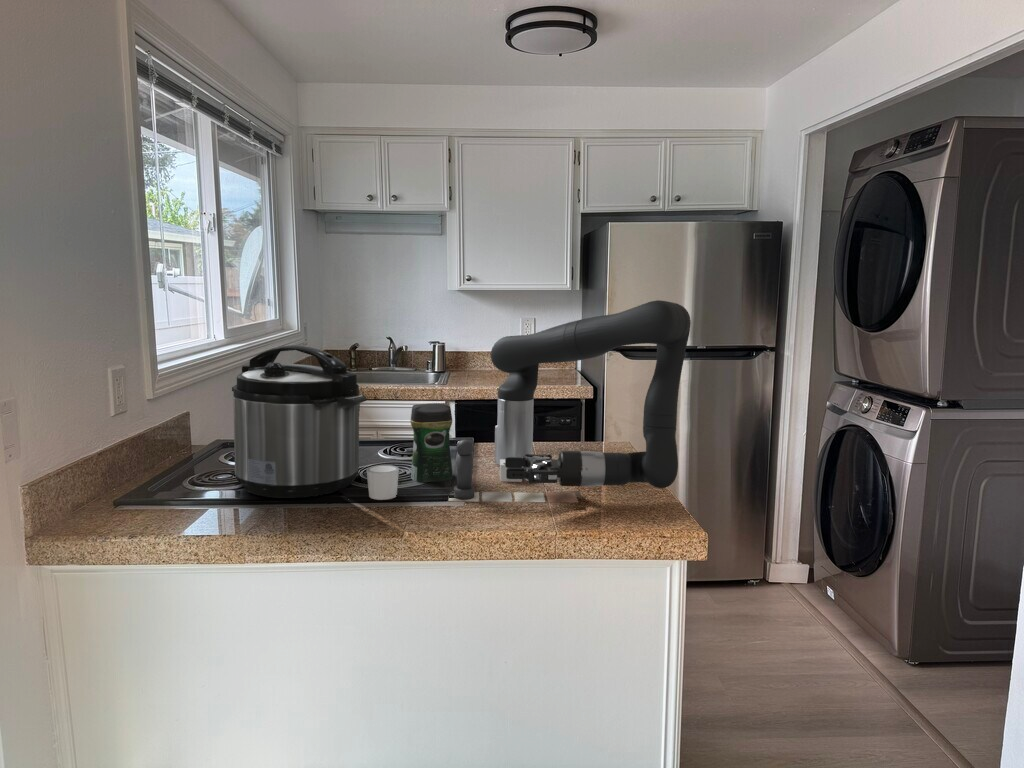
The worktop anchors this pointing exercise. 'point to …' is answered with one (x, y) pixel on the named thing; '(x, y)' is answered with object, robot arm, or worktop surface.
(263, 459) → the pressure cooker
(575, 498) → the track board
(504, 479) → the die
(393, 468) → the white cup
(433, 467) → the coffee jar
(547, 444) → the worktop surface
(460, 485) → the pawn
